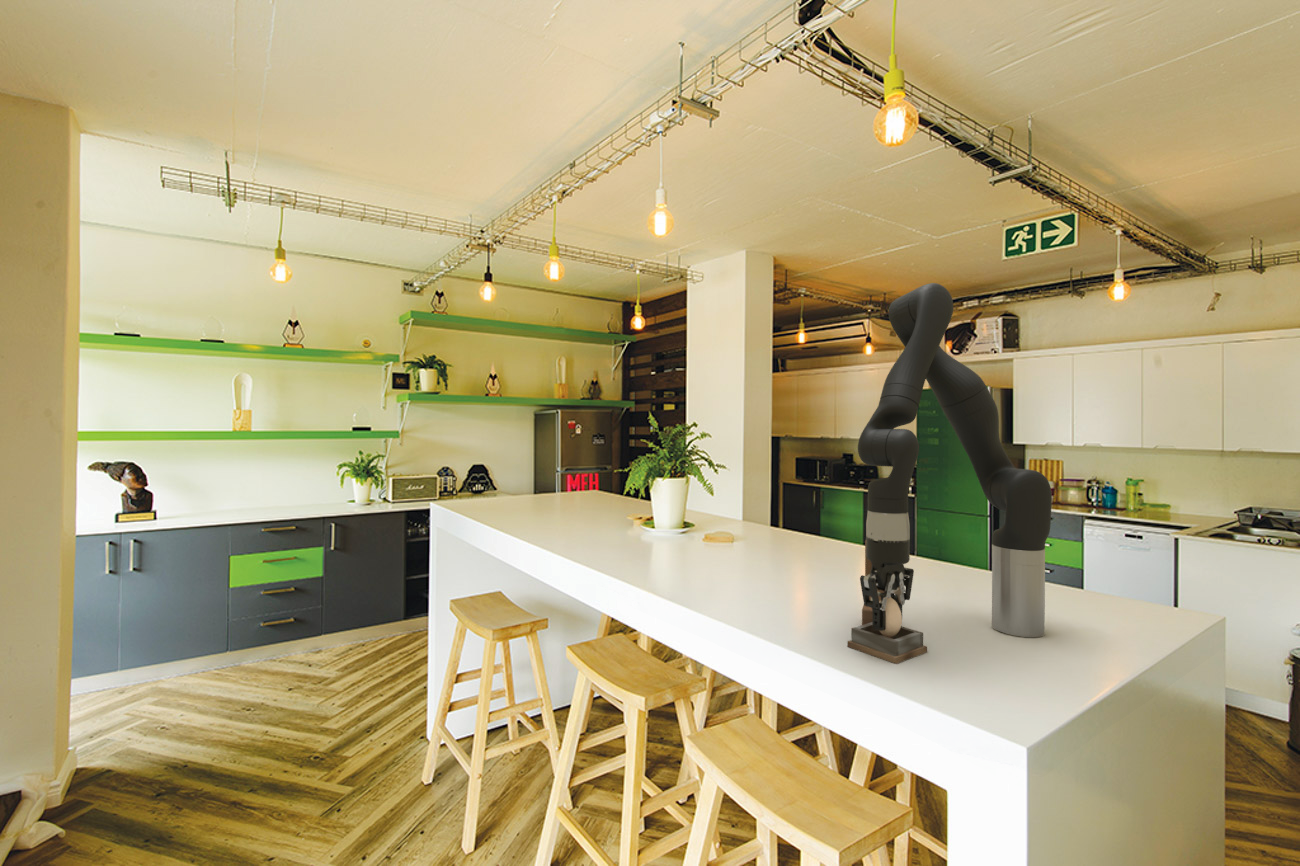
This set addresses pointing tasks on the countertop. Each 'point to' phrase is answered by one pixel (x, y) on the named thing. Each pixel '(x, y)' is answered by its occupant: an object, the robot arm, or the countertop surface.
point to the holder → (887, 643)
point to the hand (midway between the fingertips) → (887, 626)
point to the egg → (892, 618)
